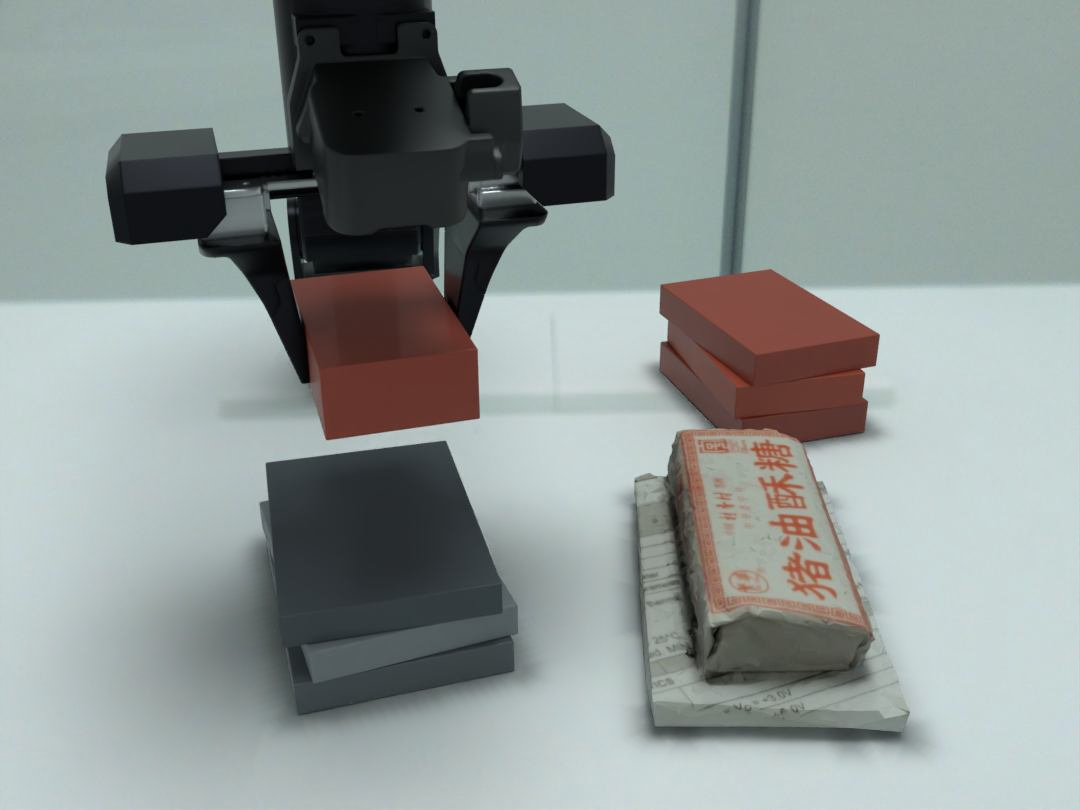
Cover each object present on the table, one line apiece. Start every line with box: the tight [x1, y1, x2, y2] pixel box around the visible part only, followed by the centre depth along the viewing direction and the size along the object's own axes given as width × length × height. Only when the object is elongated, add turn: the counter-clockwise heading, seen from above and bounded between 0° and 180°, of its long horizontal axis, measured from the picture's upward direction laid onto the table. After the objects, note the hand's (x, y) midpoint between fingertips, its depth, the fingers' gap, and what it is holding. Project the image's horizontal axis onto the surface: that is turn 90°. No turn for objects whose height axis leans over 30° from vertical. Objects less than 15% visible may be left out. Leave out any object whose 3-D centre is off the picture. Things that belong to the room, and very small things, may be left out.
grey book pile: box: [258, 440, 519, 716], centre depth 52 cm, size 13×10×4 cm
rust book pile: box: [658, 268, 881, 443], centre depth 70 cm, size 13×9×6 cm
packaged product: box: [633, 428, 911, 733], centre depth 51 cm, size 18×5×10 cm
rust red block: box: [290, 266, 481, 441], centre depth 48 cm, size 10×6×3 cm, turn 17°
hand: (380, 370), depth 48 cm, fingers closed on rust red block, 6 cm apart
